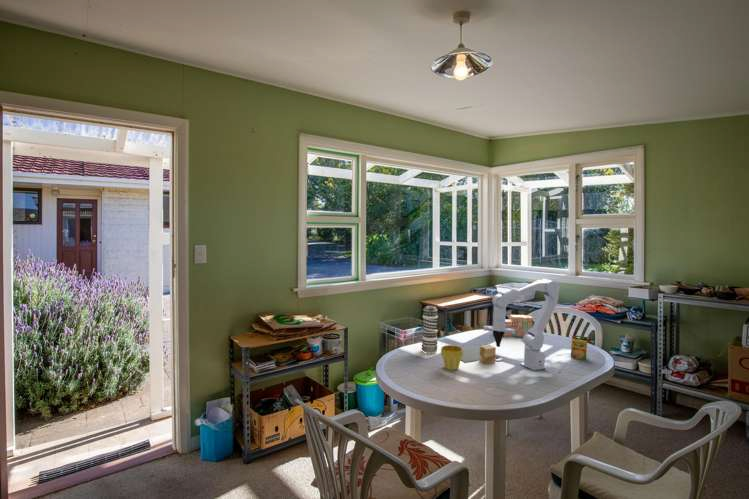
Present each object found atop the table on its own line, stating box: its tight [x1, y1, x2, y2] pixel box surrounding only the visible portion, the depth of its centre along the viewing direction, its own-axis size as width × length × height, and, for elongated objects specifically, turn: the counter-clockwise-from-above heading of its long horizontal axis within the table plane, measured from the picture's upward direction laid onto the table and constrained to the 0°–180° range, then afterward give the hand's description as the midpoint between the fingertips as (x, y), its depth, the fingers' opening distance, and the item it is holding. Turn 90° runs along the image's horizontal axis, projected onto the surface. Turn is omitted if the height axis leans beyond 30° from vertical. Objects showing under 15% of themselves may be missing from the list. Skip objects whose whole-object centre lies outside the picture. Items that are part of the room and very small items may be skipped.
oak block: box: [478, 344, 497, 365], centre depth 214 cm, size 5×6×8 cm
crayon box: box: [570, 334, 588, 361], centre depth 221 cm, size 7×3×12 cm, turn 62°
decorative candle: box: [421, 305, 440, 354], centre depth 228 cm, size 9×9×25 cm
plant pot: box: [440, 344, 463, 371], centre depth 206 cm, size 10×10×10 cm
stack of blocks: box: [503, 314, 534, 338], centre depth 262 cm, size 21×6×12 cm, turn 86°
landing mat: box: [460, 345, 500, 364], centre depth 226 cm, size 18×22×1 cm
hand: (498, 346), depth 207 cm, fingers closed
